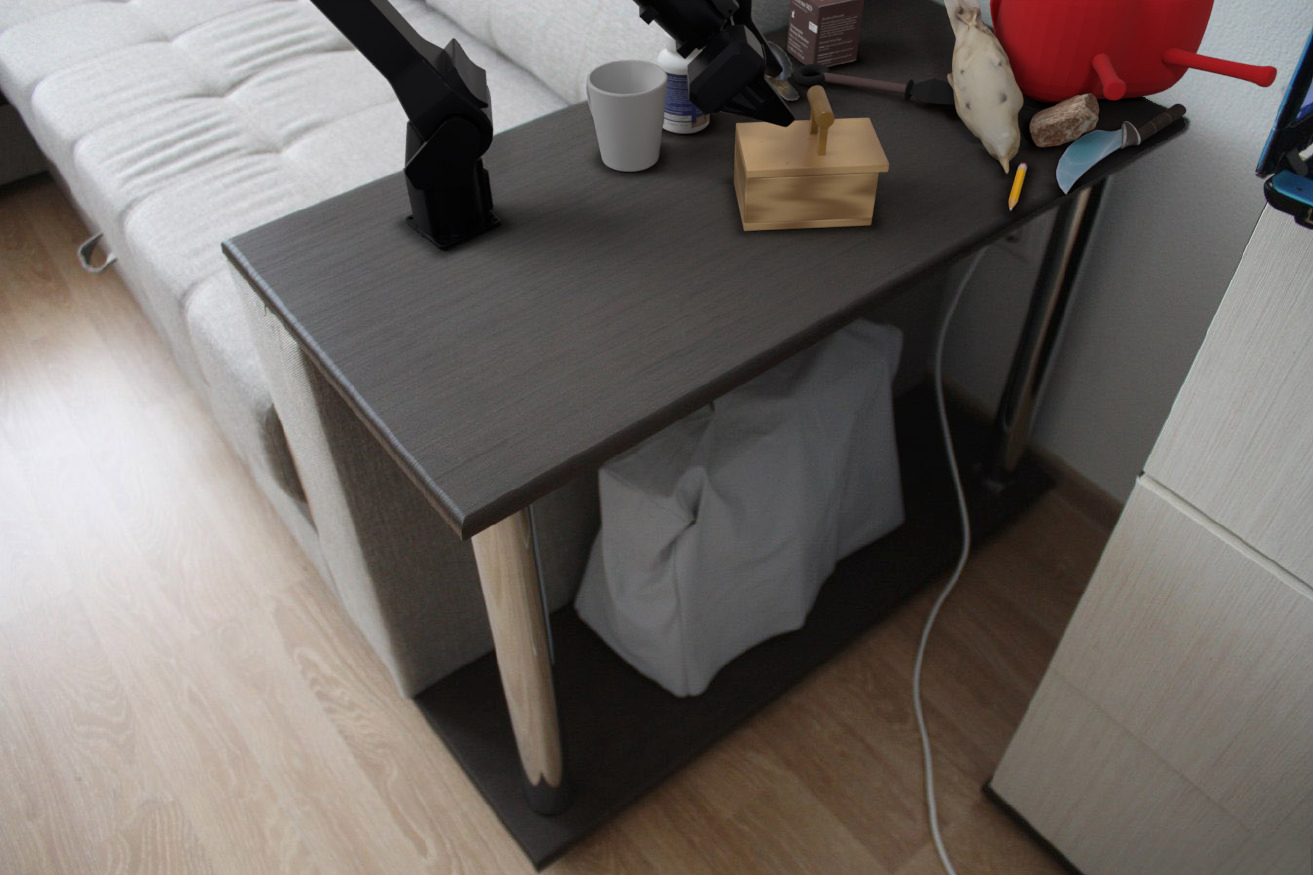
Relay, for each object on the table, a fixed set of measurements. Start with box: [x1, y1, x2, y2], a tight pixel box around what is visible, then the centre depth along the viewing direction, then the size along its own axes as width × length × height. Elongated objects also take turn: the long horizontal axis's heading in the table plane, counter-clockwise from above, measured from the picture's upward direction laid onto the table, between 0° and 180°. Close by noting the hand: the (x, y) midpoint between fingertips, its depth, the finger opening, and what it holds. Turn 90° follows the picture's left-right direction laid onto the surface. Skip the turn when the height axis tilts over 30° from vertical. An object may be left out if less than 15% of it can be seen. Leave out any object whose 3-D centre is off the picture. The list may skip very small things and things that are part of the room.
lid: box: [735, 85, 890, 178], centre depth 90 cm, size 12×9×5 cm
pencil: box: [1008, 162, 1028, 212], centre depth 97 cm, size 1×9×1 cm
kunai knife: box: [793, 64, 1043, 111], centre depth 108 cm, size 4×27×3 cm, turn 57°
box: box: [786, 0, 865, 68], centre depth 116 cm, size 6×6×7 cm
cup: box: [585, 59, 668, 173], centre depth 100 cm, size 8×10×8 cm
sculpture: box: [943, 0, 1024, 175], centre depth 102 cm, size 6×25×5 cm
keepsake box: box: [733, 133, 880, 232], centre depth 94 cm, size 12×9×5 cm
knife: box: [1055, 103, 1187, 195], centre depth 102 cm, size 22×2×5 cm
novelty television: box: [989, 0, 1278, 105], centre depth 105 cm, size 21×13×30 cm
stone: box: [1029, 93, 1100, 148], centre depth 102 cm, size 7×6×5 cm
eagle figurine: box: [765, 40, 800, 102], centre depth 110 cm, size 8×7×9 cm
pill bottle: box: [657, 30, 711, 135], centre depth 104 cm, size 5×5×10 cm
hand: (785, 97), depth 89 cm, fingers open, 9 cm apart
